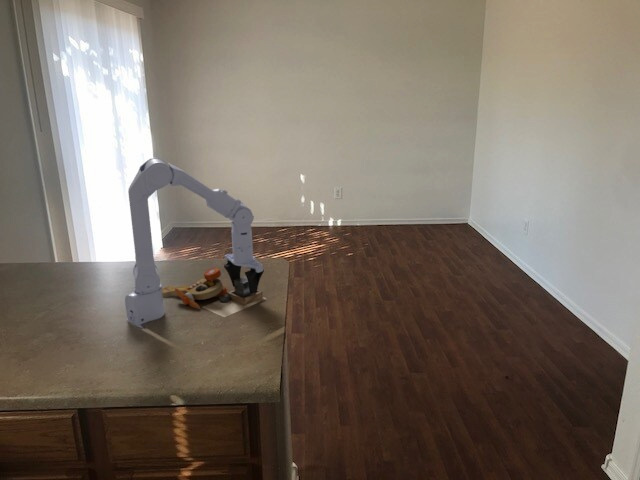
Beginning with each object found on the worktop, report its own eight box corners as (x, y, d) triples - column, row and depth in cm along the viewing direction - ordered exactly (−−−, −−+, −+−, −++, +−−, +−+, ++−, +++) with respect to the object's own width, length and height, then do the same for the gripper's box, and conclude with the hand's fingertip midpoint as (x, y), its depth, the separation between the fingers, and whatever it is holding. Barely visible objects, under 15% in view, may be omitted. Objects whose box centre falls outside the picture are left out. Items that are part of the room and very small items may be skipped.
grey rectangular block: (244, 302, 148) (243, 283, 146) (235, 298, 151) (234, 280, 149) (254, 298, 151) (253, 279, 149) (245, 294, 154) (244, 276, 152)
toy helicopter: (233, 289, 156) (214, 315, 144) (175, 294, 162) (152, 319, 151) (225, 266, 152) (205, 291, 141) (166, 272, 159) (142, 296, 147)
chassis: (224, 320, 140) (223, 310, 139) (202, 310, 146) (201, 300, 145) (267, 301, 151) (266, 292, 150) (244, 292, 157) (244, 283, 156)
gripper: (270, 247, 144) (271, 291, 148) (236, 237, 153) (239, 278, 158) (251, 253, 139) (253, 299, 143) (217, 242, 148) (221, 285, 152)
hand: (244, 289), depth 150 cm, fingers open, 7 cm apart
